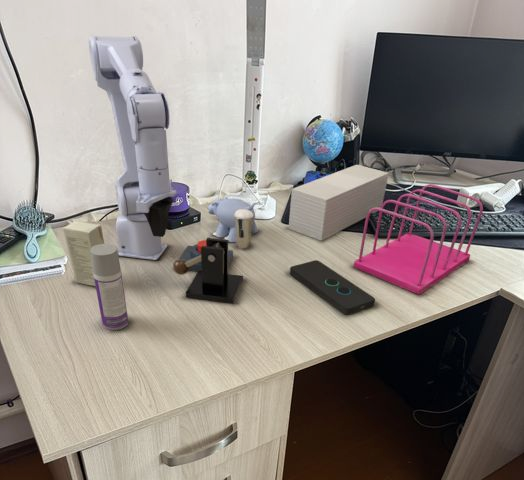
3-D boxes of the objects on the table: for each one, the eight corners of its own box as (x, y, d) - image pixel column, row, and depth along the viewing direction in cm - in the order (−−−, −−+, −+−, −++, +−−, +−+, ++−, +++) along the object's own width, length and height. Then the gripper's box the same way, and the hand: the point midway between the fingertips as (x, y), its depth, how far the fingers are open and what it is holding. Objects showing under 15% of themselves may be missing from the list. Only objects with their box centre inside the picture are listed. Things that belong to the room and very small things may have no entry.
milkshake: (253, 251, 118) (254, 211, 112) (231, 248, 118) (232, 209, 112) (257, 244, 121) (258, 205, 115) (236, 241, 122) (236, 202, 116)
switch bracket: (185, 297, 99) (183, 251, 93) (198, 275, 107) (197, 231, 101) (233, 303, 98) (234, 257, 92) (243, 280, 106) (244, 236, 100)
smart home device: (346, 308, 95) (288, 266, 108) (345, 316, 96) (287, 273, 109) (377, 298, 99) (317, 259, 112) (375, 305, 100) (316, 265, 113)
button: (195, 253, 109) (195, 245, 108) (199, 246, 111) (199, 239, 110) (211, 254, 108) (211, 247, 107) (215, 248, 111) (215, 241, 110)
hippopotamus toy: (225, 218, 134) (225, 183, 128) (267, 234, 126) (269, 198, 121) (196, 228, 127) (195, 192, 121) (239, 246, 119) (240, 209, 114)
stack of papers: (321, 240, 125) (326, 199, 118) (288, 228, 130) (291, 188, 123) (381, 209, 145) (388, 172, 138) (351, 200, 150) (356, 164, 143)
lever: (176, 279, 101) (168, 266, 99) (181, 272, 103) (173, 259, 102) (222, 259, 96) (214, 245, 95) (226, 252, 99) (218, 239, 97)
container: (104, 316, 92) (91, 243, 83) (130, 316, 93) (119, 243, 84) (100, 330, 88) (86, 255, 79) (126, 330, 89) (115, 255, 80)
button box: (176, 268, 109) (175, 254, 107) (188, 251, 116) (187, 238, 114) (224, 274, 108) (224, 260, 105) (233, 257, 115) (233, 243, 113)
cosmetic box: (111, 279, 104) (103, 224, 96) (99, 288, 100) (90, 232, 93) (86, 273, 105) (75, 219, 98) (73, 282, 102) (61, 227, 94)
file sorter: (469, 261, 119) (490, 198, 110) (418, 296, 104) (438, 227, 95) (406, 238, 128) (421, 179, 119) (352, 267, 113) (364, 201, 104)
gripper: (160, 179, 84) (166, 252, 92) (185, 157, 95) (188, 224, 103) (121, 175, 84) (131, 248, 92) (150, 154, 96) (156, 220, 104)
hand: (159, 235), depth 98 cm, fingers closed
